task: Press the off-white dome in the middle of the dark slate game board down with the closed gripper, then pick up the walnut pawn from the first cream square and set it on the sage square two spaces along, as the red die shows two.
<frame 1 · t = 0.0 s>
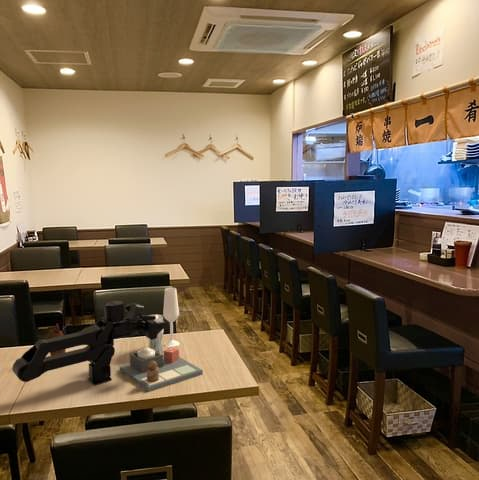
hand: (161, 320, 181), 17 cm above the table, tool horizontal, fingers open, 9 cm apart
game board: (160, 372, 174), on the table
dome button: (146, 353, 175), point 6 cm above the table, slide at 0.0 cm
champagne flute: (171, 344, 202), on the table
beer glass: (155, 352, 193), on the table
wooden figurine: (58, 359, 186), on the table
red die: (171, 360, 181), resting on game board
walnut pawn: (153, 379, 164), point 2 cm above the table, touching game board
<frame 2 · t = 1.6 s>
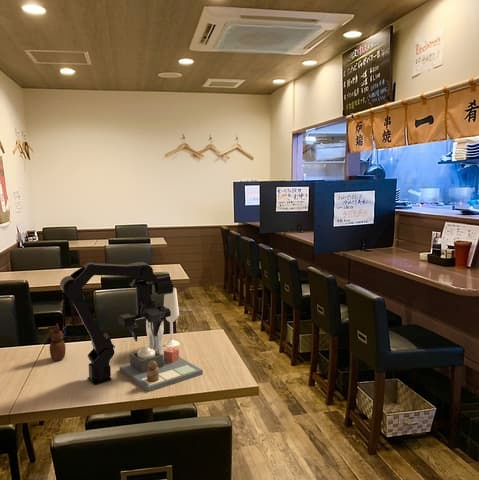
hand: (145, 338, 174), 12 cm above the table, tool pointing down, fingers open, 8 cm apart
nothing on the table moved.
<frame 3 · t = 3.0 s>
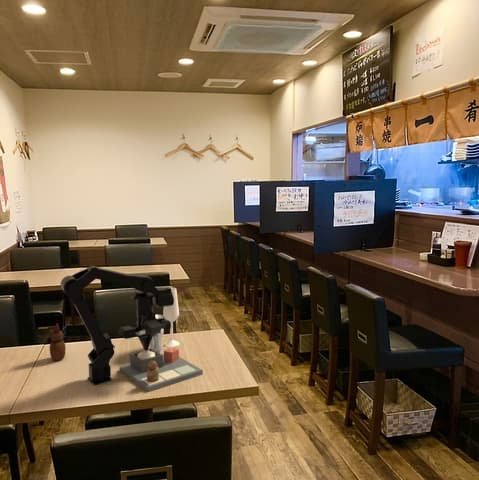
hand: (146, 350, 175), 8 cm above the table, tool pointing down, fingers closed, pressing on dome button
dome button: (146, 356, 175), point 5 cm above the table, slide at 1.1 cm, touching gripper
everything else where it was.
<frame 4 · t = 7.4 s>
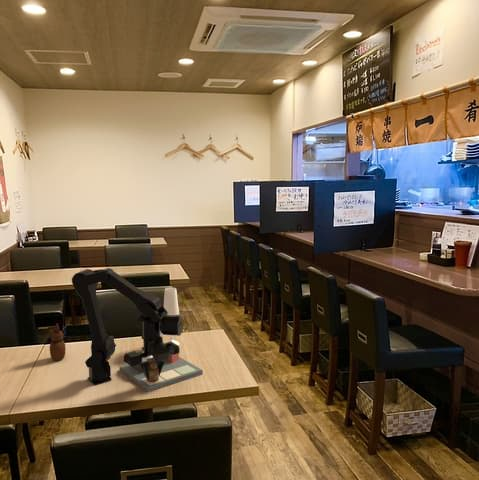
hand: (152, 376, 164), 3 cm above the table, tool pointing down, fingers closed on walnut pawn, 4 cm apart
dome button: (146, 356, 175), point 5 cm above the table, slide at 1.4 cm
walnut pawn: (153, 379, 164), point 2 cm above the table, touching game board, gripper
everything else where it was.
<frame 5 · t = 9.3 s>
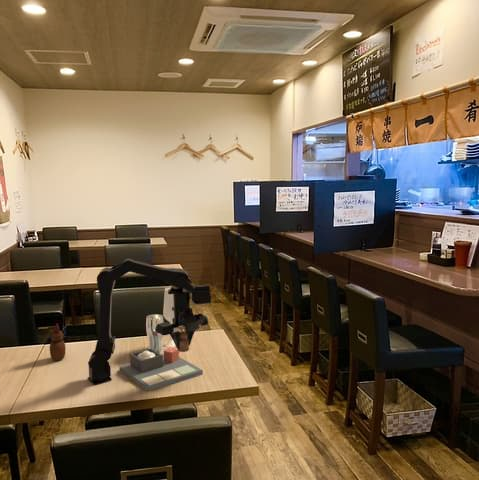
hand: (183, 347, 170), 10 cm above the table, tool pointing down, fingers closed on walnut pawn, 4 cm apart
walnut pawn: (183, 349, 170), point 9 cm above the table, touching gripper
everything else where it was.
when the fingers open (4 cm above the table, at t = 11.3 s): walnut pawn drops 1 cm, resting on game board.
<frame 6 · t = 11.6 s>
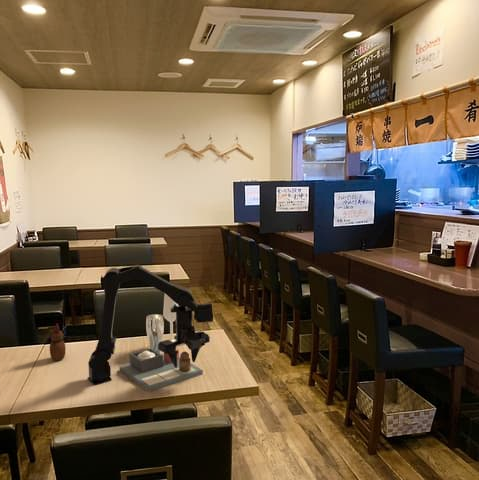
hand: (184, 364, 172), 4 cm above the table, tool pointing down, fingers open, 7 cm apart
walnut pawn: (185, 369, 172), point 2 cm above the table, touching game board
everything else where it was.
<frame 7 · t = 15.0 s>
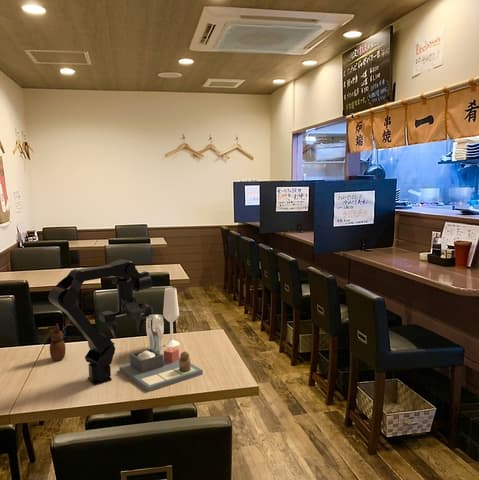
hand: (127, 335, 175), 13 cm above the table, tool pointing down, fingers open, 9 cm apart
nothing on the table moved.
at the end: dome button slide at 1.4 cm; walnut pawn 0.1 cm from the target spot, point 1.6 cm above the table; walnut pawn tilted 0° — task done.
